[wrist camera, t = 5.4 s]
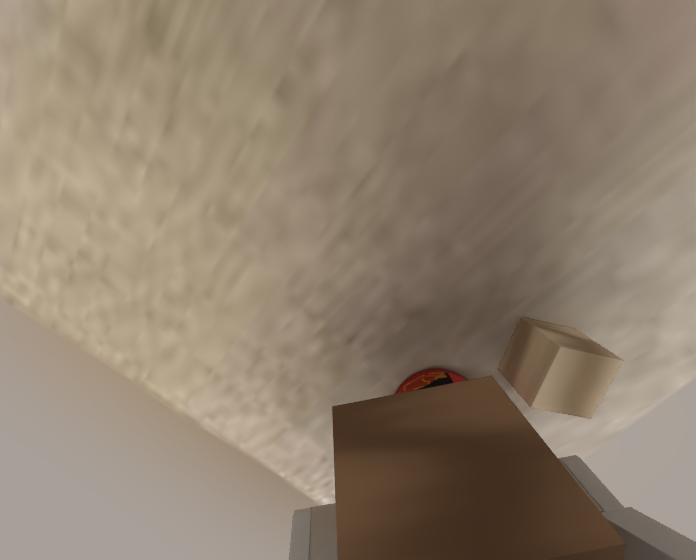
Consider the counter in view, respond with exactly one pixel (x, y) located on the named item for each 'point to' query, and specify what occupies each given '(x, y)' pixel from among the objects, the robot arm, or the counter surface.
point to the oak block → (558, 368)
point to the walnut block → (457, 482)
